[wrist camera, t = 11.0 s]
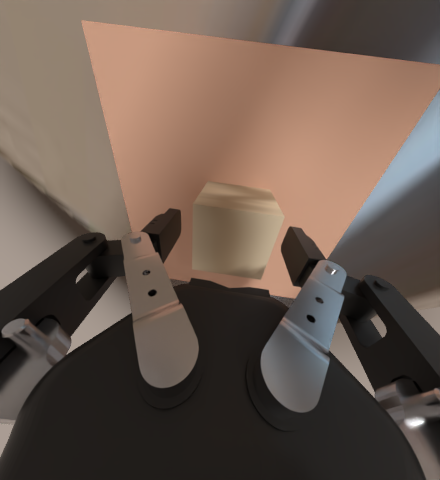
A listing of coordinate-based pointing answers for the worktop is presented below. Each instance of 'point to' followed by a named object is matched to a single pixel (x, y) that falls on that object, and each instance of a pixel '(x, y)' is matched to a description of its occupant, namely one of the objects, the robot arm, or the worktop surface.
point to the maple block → (234, 229)
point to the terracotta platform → (251, 130)
